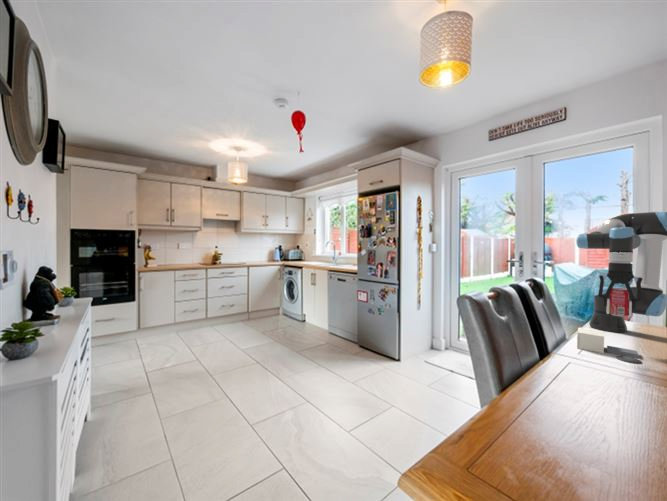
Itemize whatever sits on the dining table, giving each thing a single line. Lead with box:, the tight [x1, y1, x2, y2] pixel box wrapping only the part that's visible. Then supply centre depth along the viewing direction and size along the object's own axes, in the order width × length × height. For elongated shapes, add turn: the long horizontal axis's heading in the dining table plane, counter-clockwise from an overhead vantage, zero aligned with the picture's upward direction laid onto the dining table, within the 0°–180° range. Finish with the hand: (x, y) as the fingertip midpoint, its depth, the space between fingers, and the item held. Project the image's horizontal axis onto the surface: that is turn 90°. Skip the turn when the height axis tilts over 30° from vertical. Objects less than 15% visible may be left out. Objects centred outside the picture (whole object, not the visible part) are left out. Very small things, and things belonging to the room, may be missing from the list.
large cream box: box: [576, 327, 605, 354], centre depth 128 cm, size 8×11×7 cm
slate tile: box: [606, 345, 640, 359], centre depth 121 cm, size 6×9×2 cm, turn 49°
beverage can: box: [609, 287, 629, 318], centre depth 127 cm, size 6×6×12 cm
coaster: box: [615, 355, 642, 364], centre depth 114 cm, size 7×7×1 cm
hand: (618, 314), depth 127 cm, fingers closed on beverage can, 6 cm apart
